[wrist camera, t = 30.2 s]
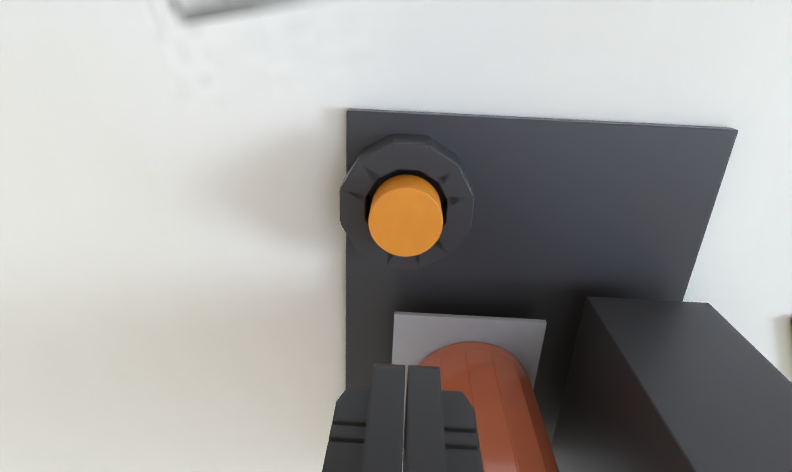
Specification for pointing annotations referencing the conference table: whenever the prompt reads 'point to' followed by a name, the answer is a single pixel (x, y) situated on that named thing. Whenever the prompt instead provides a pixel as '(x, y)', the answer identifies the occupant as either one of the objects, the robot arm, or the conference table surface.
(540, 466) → the tumbler
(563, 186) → the coffee maker base
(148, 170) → the conference table surface
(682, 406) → the coffee maker
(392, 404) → the robot arm
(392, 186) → the brew button
